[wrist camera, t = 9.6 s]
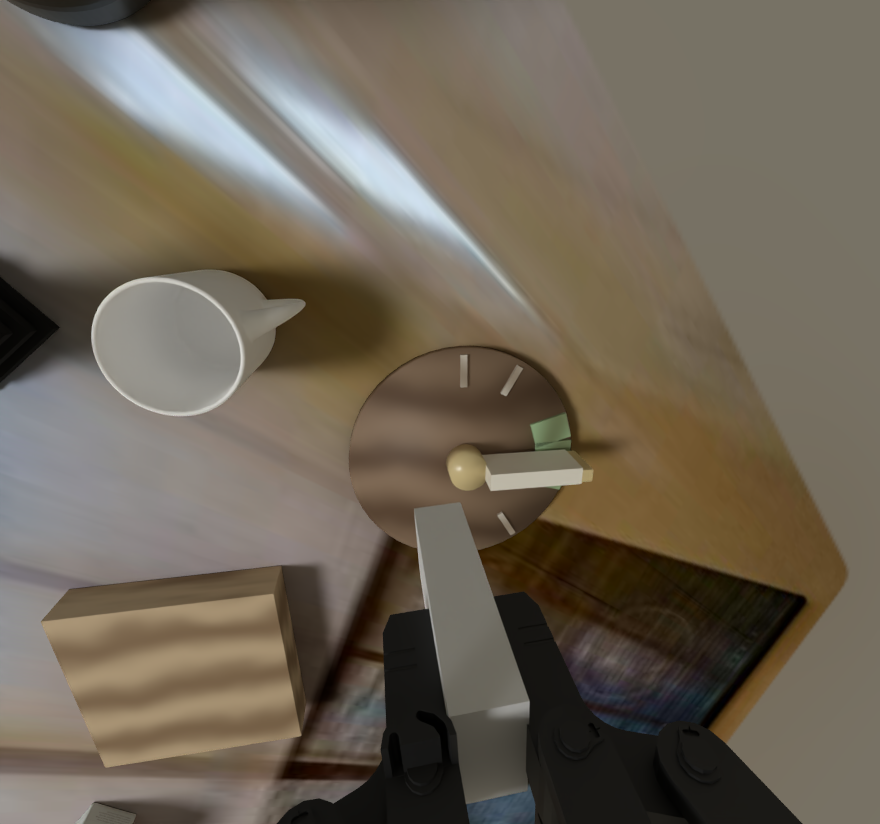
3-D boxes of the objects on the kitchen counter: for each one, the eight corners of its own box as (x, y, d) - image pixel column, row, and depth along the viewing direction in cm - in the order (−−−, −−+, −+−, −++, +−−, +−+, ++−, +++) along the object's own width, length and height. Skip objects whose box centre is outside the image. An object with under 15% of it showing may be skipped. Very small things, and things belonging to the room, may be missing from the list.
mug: (331, 346, 39) (318, 380, 29) (197, 384, 38) (136, 433, 28) (295, 244, 35) (265, 243, 26) (147, 285, 35) (59, 300, 25)
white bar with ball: (445, 478, 43) (454, 503, 39) (445, 445, 42) (454, 467, 38) (569, 469, 45) (590, 492, 41) (573, 437, 44) (595, 457, 40)
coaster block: (69, 589, 43) (40, 621, 39) (281, 565, 46) (273, 593, 42) (125, 729, 50) (105, 767, 46) (306, 701, 53) (301, 735, 49)
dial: (338, 352, 39) (337, 356, 38) (575, 340, 42) (582, 343, 40) (359, 556, 47) (359, 566, 45) (558, 534, 50) (563, 542, 48)
